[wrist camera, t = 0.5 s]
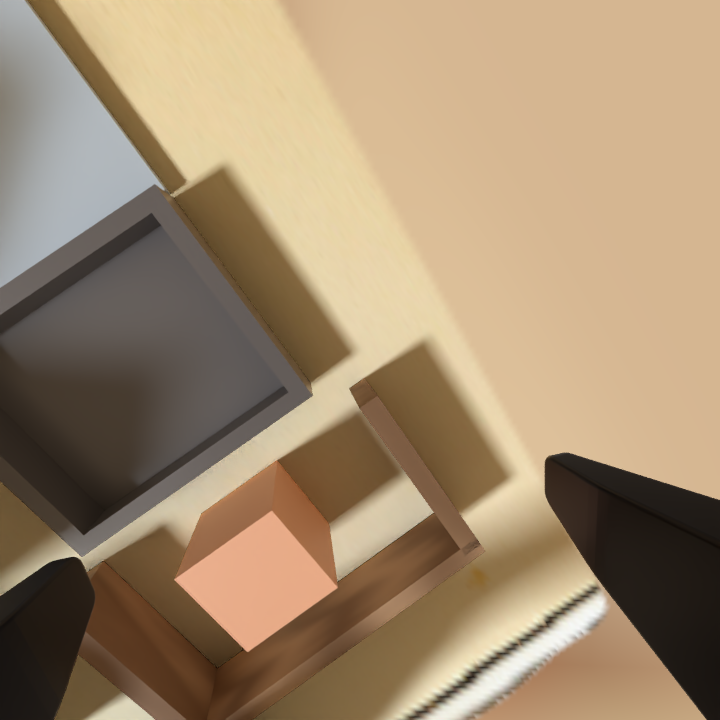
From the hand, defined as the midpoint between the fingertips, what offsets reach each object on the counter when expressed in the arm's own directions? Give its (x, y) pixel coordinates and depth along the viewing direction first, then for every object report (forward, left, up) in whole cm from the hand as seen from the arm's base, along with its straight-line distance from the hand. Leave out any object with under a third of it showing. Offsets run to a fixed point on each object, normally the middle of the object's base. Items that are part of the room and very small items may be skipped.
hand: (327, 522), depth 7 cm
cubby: (-7, -7, -14) cm, 17 cm away
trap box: (-7, +5, -14) cm, 16 cm away
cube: (-7, -6, -14) cm, 16 cm away
